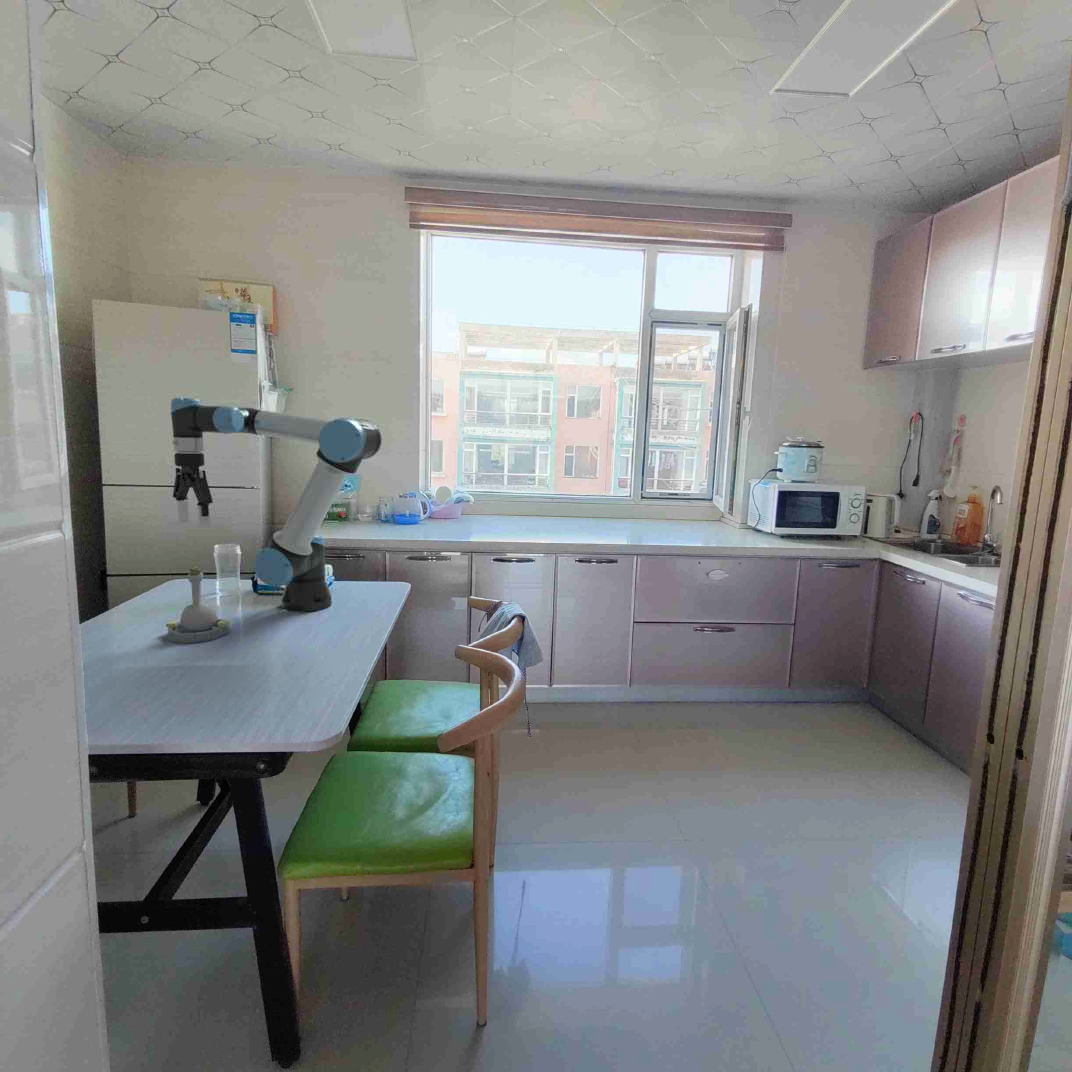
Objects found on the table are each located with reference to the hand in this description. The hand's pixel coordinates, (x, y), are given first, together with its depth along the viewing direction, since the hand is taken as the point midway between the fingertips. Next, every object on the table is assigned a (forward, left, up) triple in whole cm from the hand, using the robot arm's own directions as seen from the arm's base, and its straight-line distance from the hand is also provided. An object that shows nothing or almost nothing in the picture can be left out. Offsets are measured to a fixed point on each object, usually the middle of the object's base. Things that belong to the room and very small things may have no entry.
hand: (193, 524), depth 182 cm
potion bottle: (-8, +21, -26) cm, 34 cm away
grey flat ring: (-8, +21, -27) cm, 35 cm away
